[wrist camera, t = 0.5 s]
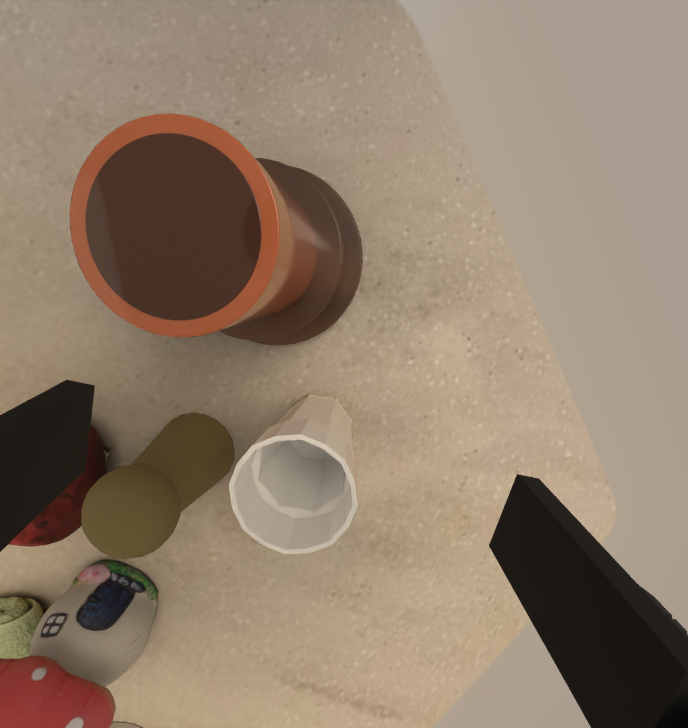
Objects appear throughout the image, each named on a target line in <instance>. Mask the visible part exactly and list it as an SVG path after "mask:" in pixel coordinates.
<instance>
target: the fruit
mask: <svg viewBox="0 0 688 728" xmlns="http://www.w3.org/2000/svg"><path fill="white" fill-rule="evenodd" d="M111 451H112V448H106V447H104V446H103V443H102V439H101V438H100V436H99V434H98V433H97V432H96V430H95V429H94V428H93V427H92V426H90V433H89V442H88V451H87V460H86V469H85V471H84V472H83V473H82V474H81V475H80V476H79V477H78V478H77V479H76V480H75V481H74V482H73V483H71V484H70V485H69V486H68V487H67V488H66V489H65V490H64V491H63V492H62V493H61V494H60V495H59V496H58V497H57V498H56V499H55V500H54V501H53V502H52V503H51V504H50V505H49V506H48V507H46V508H45V509H44V510H43V511H42V512H41V513H40V514H39V515H38V516H37V517H36V518H35V519H34V520H33V521H32V522H31V523H30V524H29V525H28V526H27V527H26V528H25V529H24V530H23V531H21V532H20V533H19V534H18V535H17V536H16V537H15V538H14V539H13V540H12V541H11V542H10V543H9V544H10V545H18V546H41V545H48V544H51V543H54V542H58V541H60V540H62V539H64V538H66V537H67V536H69V535H70V534H72V533H73V532H75V531H76V530H77V529H78V528H79V527H81V526H82V523H81V515H82V505H83V502H84V500H85V497H86V495H87V493H88V491H89V490H90V489H91V487H92V486H93V485H94V484H95V483H96V482H97V481H98V480H99V479H100V478H101V477H102V476H104V475H105V474H107V468H106V460H107V458H108V456H109V454H110V452H111Z"/></svg>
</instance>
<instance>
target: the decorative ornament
mask: <svg viewBox="0 0 688 728" xmlns="http://www.w3.org/2000/svg"><path fill="white" fill-rule="evenodd" d="M157 594H158V591H157V590H156V589H155V587H154V586H153V584H152V583H151V581H150V580H148V579H147V578H146V577H145V576H144V575H143V574H142V572H141V571H140V570H137V569H135V568H132V567H130V566H127V565H125V564H122V563H120V562H117V561H102V562H97V563H94V564H92V565H90V566H88V567H87V568H85V569H84V570H83V571H82V572H81V573H80V574H79V575H78V576H77V577H76V578H75V580H74V581H73V583H72V585H71V587H70V589H69V590H68V591H67V592H66V593H65V594H63V595H62V596H61V597H60V598H58V599H57V600H56V601H55V602H54V603H53V604H52V605H51V606H50V608H49V609H48V610H47V611H46V612H45V614H44V615H43V617H42V619H41V620H40V622H39V624H38V626H37V628H36V630H35V632H34V635H33V638H32V642H31V647H30V656H27V657H24V658H19V659H13V658H12V659H2V658H0V728H109V727H110V725H111V723H112V721H113V717H114V713H115V708H116V706H115V701H114V698H113V696H112V694H111V692H110V691H109V690H108V689H107V688H105V686H107V685H109V684H110V683H112V682H113V681H115V680H116V679H118V678H119V677H120V676H121V675H123V674H124V673H125V672H126V671H127V670H128V669H129V668H130V667H131V666H132V665H133V664H134V663H135V662H136V661H137V659H138V658H139V657H140V655H141V654H142V652H143V650H144V648H145V645H146V643H147V640H148V637H149V634H150V631H151V627H152V623H153V619H154V616H155V612H156V606H157Z"/></svg>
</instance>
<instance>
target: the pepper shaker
mask: <svg viewBox="0 0 688 728" xmlns="http://www.w3.org/2000/svg"><path fill="white" fill-rule="evenodd" d="M233 459H234V447H233V442H232V438H231V437H230V435H229V433H228V432H227V430H226V428H225V427H223V426H222V425H221V424H220V423H219V422H218V421H217V420H215V419H213V418H211V417H209V416H207V415H204V414H197V413H190V414H184V415H180V416H179V417H177V418H175V419H173V420H171V421H170V423H169V424H168V425H167V426H166V427H165V428H164V429H163V430H162V431H161V432H160V433H159V435H158V436H157V437H156V438H155V439H154V440H153V441H152V442H151V443H150V445H149V446H148V447H147V448H146V449H145V450H144V451H143V452H142V453H141V454H140V456H139V457H138V458H137V459H136V460H135V461H134V462H133V463H132V464H131V465H127V466H123V467H119V468H116V469H115V470H113V471H111V472H109V473H107V474H105V475H104V476H102V477H101V478H100V479H99V480H98V481H97V482H96V483H95V484H94V485H93V486H92V487H91V489H90V490H89V491H88V493H87V495H86V497H85V500H84V502H83V505H82V515H81V523H82V526H83V529H84V533H85V535H86V536H87V538H88V539H89V541H90V542H91V544H93V545H94V546H95V547H96V548H97V549H98V550H100V551H101V552H103V553H105V554H107V555H109V556H111V557H115V558H121V559H129V558H136V557H143V556H145V555H147V554H149V553H151V552H153V551H155V550H156V549H158V548H159V547H160V546H161V545H162V544H163V543H164V542H165V541H166V540H167V539H168V538H169V537H170V536H171V534H172V533H173V531H174V529H175V527H176V525H177V522H178V520H179V517H180V512H181V511H183V510H184V509H185V508H186V507H188V506H189V505H190V504H191V503H192V502H194V501H195V500H196V499H197V498H199V497H200V496H201V495H202V494H203V493H205V492H206V491H207V490H208V489H210V488H211V487H212V486H213V485H214V484H216V483H217V482H218V481H219V480H221V479H222V478H223V477H224V476H225V475H226V474H227V473H228V472H229V469H230V467H231V465H232V463H233Z"/></svg>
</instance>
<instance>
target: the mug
mask: <svg viewBox="0 0 688 728" xmlns="http://www.w3.org/2000/svg"><path fill="white" fill-rule="evenodd" d="M109 728H141V727H138V726H136V725H133V724H129V723H123V722H112V723H111V725H110V727H109Z"/></svg>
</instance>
